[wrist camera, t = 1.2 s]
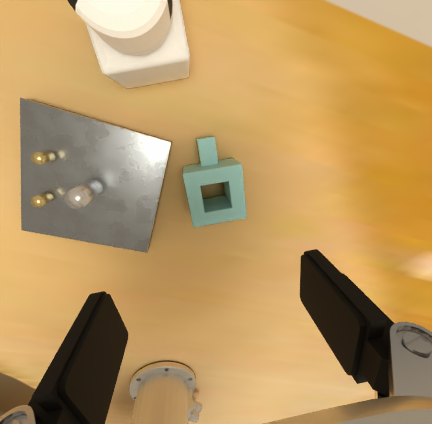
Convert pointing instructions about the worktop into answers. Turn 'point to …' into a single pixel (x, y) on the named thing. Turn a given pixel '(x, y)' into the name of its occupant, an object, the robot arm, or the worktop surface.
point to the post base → (88, 177)
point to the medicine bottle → (137, 39)
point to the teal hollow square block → (210, 174)
